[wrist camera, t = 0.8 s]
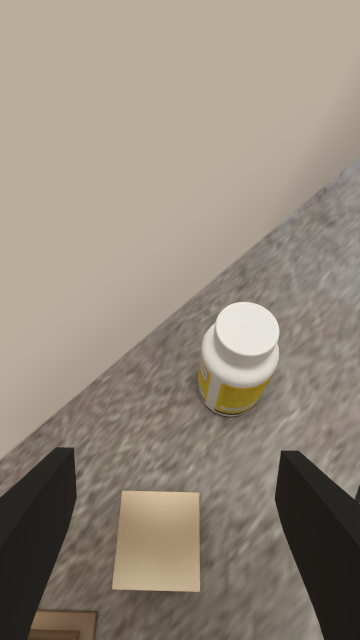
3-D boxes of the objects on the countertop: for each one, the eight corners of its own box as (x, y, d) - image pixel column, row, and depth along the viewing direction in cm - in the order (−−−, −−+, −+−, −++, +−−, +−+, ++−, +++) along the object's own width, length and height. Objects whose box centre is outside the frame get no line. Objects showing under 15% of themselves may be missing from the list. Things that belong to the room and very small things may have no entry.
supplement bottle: (271, 386, 29) (308, 327, 21) (232, 431, 27) (256, 386, 18) (224, 347, 31) (240, 279, 23) (183, 387, 29) (185, 328, 20)
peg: (193, 573, 22) (199, 591, 15) (132, 572, 22) (112, 589, 15) (193, 504, 24) (199, 492, 17) (138, 502, 24) (122, 490, 17)
